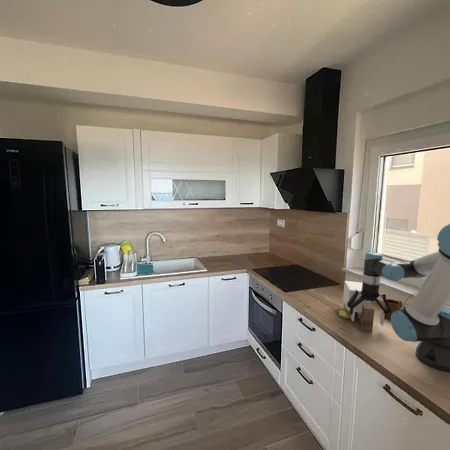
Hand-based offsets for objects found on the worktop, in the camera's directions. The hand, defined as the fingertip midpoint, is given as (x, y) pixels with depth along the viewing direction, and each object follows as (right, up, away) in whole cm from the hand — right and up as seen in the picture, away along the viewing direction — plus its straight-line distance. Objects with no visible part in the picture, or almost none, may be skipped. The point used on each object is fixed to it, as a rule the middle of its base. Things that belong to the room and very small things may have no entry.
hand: (366, 322), depth 133 cm
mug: (+24, -3, +15) cm, 29 cm away
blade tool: (+2, -3, +8) cm, 8 cm away
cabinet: (+2, -2, +15) cm, 16 cm away
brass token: (-5, -2, +14) cm, 15 cm away
